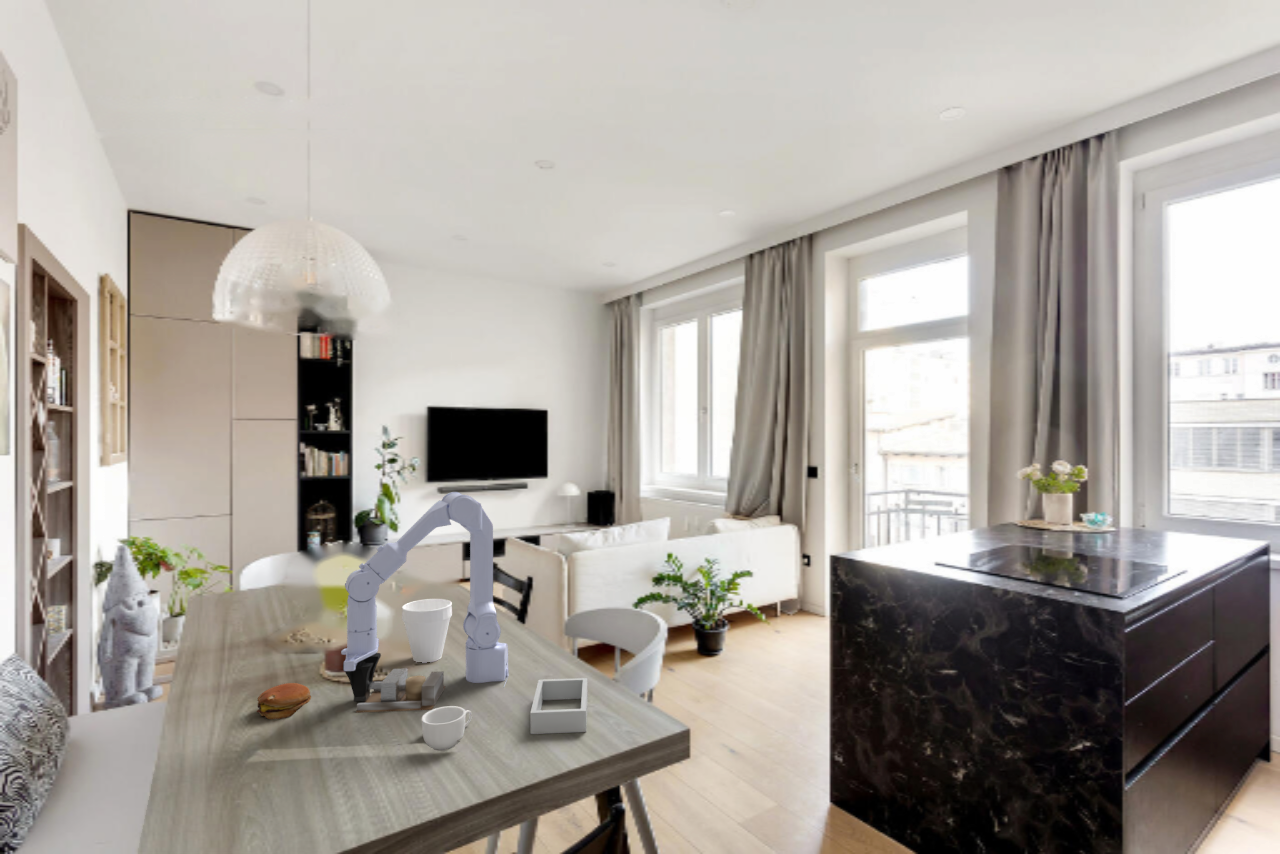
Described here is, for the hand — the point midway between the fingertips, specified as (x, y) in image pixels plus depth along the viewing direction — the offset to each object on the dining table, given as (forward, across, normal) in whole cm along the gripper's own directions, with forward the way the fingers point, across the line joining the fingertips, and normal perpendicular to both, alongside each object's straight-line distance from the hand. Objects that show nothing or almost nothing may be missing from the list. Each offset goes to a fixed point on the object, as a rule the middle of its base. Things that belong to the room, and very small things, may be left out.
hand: (362, 693), depth 134 cm
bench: (+3, 0, +8) cm, 9 cm away
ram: (+1, 0, +3) cm, 4 cm away
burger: (+3, 0, -16) cm, 16 cm away
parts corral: (+3, +7, +42) cm, 42 cm away
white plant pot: (+3, -29, +6) cm, 30 cm away
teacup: (+3, +17, +22) cm, 28 cm away
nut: (+1, 0, +11) cm, 11 cm away
